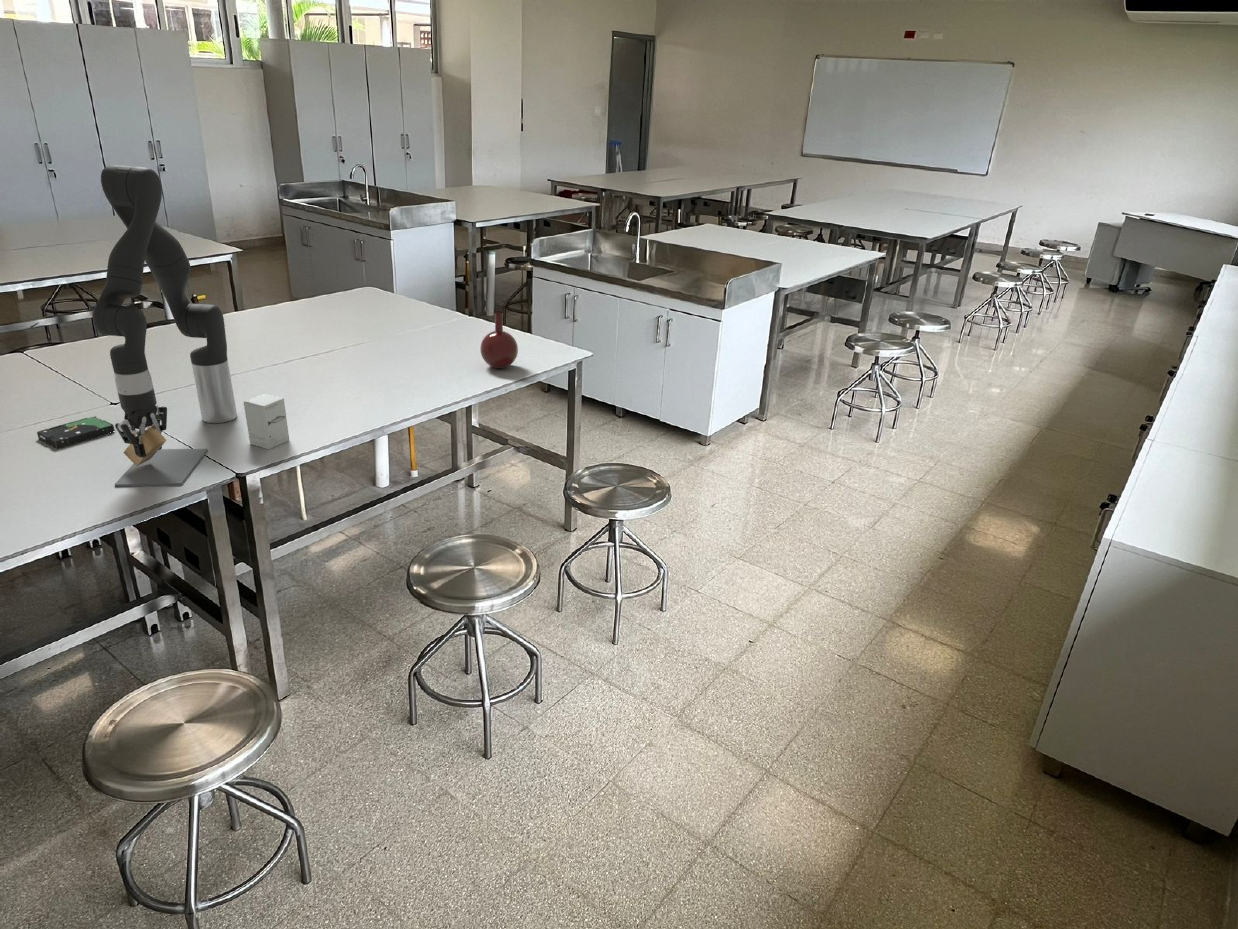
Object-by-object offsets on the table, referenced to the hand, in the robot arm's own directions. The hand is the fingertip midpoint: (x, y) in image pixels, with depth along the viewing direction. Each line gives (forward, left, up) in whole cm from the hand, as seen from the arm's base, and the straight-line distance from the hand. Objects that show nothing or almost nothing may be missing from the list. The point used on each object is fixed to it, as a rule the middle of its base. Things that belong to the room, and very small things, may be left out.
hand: (149, 452), depth 196 cm
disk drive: (-22, -27, -5) cm, 35 cm away
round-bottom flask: (-79, +87, -5) cm, 118 cm away
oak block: (-2, -4, -2) cm, 5 cm away
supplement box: (-16, +24, -5) cm, 29 cm away
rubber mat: (-1, +2, -5) cm, 5 cm away
